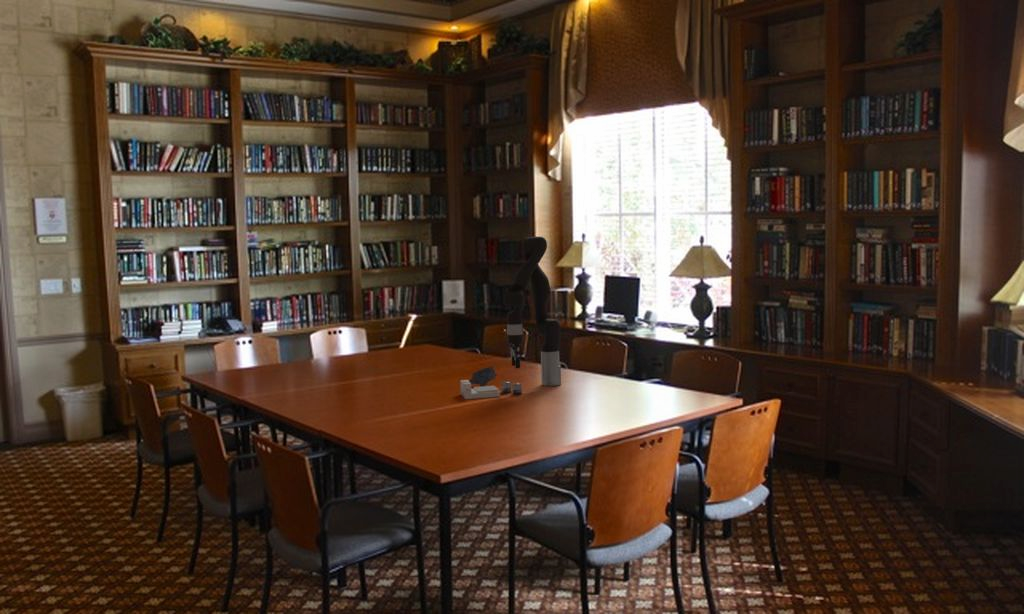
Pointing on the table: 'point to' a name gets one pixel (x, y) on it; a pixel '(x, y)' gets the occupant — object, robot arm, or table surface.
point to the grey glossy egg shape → (517, 388)
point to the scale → (478, 391)
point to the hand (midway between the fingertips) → (515, 366)
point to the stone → (483, 376)
